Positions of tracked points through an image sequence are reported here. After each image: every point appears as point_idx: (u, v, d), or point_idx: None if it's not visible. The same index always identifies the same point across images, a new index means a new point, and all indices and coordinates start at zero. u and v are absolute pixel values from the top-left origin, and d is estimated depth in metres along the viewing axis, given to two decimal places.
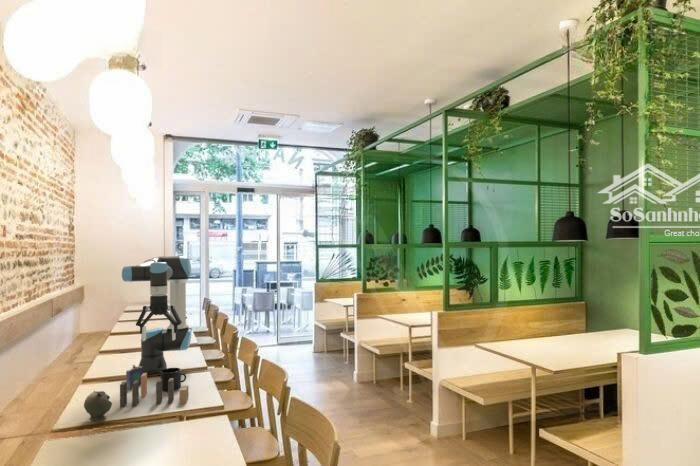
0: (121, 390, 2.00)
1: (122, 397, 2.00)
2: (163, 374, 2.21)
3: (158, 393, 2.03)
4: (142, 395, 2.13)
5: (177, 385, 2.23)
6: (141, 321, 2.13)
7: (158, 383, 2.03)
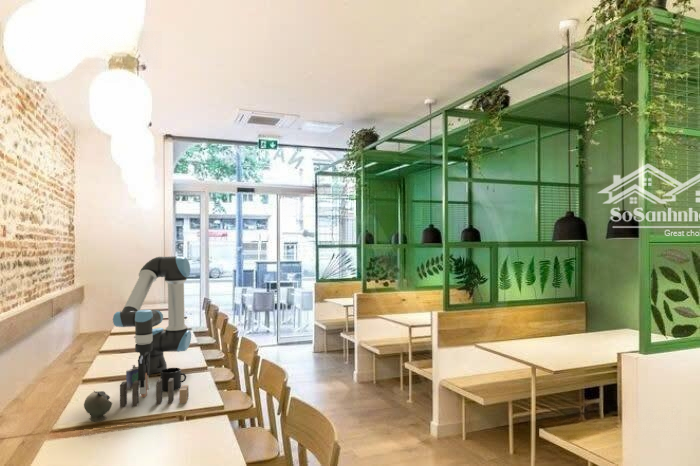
0: (121, 390, 2.00)
1: (122, 397, 2.00)
2: (163, 374, 2.21)
3: (158, 393, 2.03)
4: (142, 395, 2.13)
5: (177, 385, 2.23)
6: (148, 369, 2.20)
7: (158, 383, 2.03)
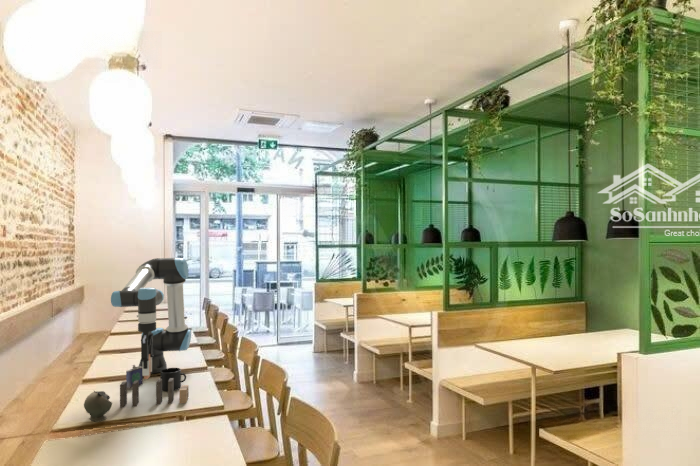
0: (121, 390, 2.00)
1: (122, 397, 2.00)
2: (163, 374, 2.21)
3: (158, 393, 2.03)
4: (145, 377, 2.02)
5: (177, 385, 2.23)
6: (151, 350, 2.10)
7: (158, 383, 2.03)
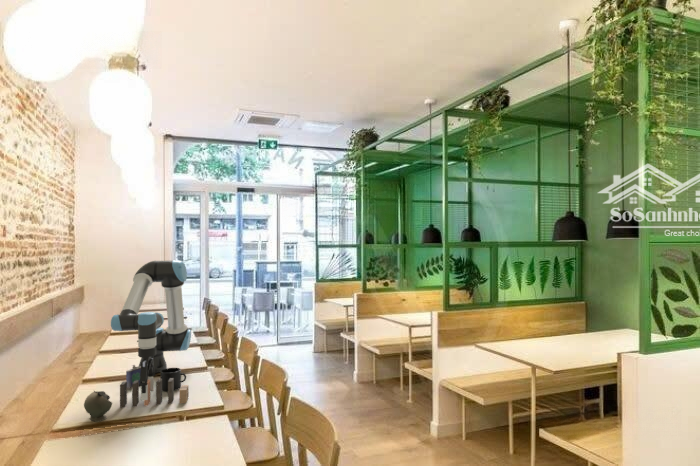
0: (121, 390, 2.00)
1: (122, 397, 2.00)
2: (163, 374, 2.21)
3: (158, 393, 2.03)
4: (145, 403, 2.02)
5: (177, 385, 2.23)
6: (153, 370, 2.12)
7: (158, 383, 2.03)
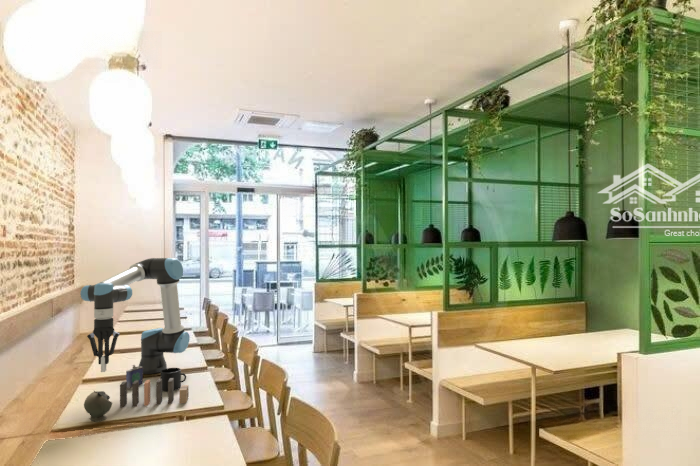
0: (121, 390, 2.00)
1: (122, 397, 2.00)
2: (163, 374, 2.21)
3: (158, 393, 2.03)
4: (145, 403, 2.02)
5: (177, 385, 2.23)
6: (97, 350, 2.01)
7: (158, 383, 2.03)
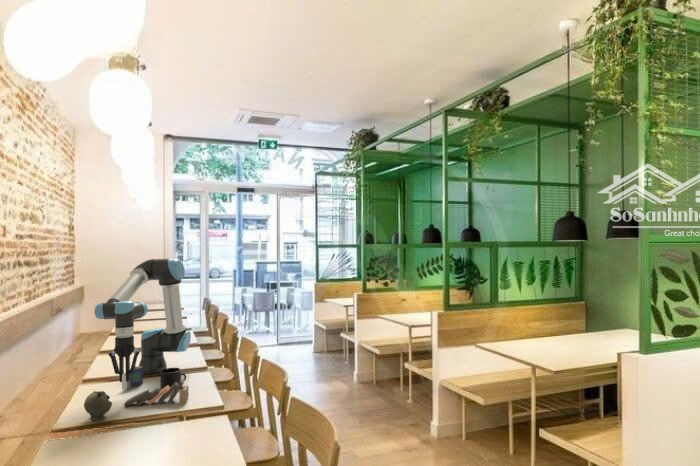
0: (141, 397, 2.01)
1: (134, 401, 2.01)
2: (163, 374, 2.21)
3: (167, 394, 2.04)
4: (149, 402, 2.02)
5: None
6: None
7: (174, 387, 2.05)
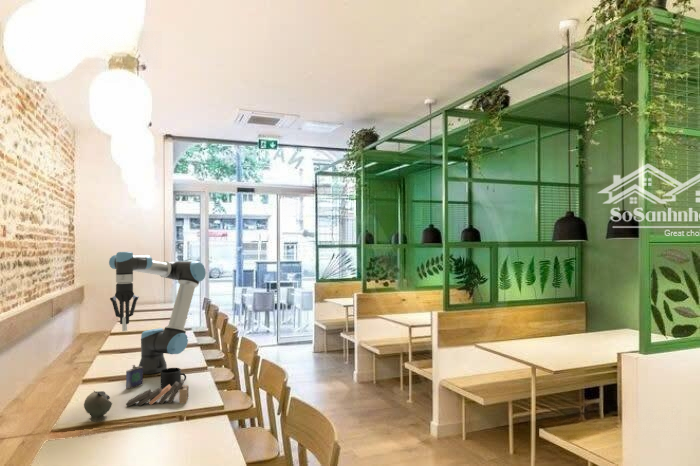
0: (143, 396, 2.02)
1: (136, 400, 2.01)
2: (163, 374, 2.21)
3: (168, 394, 2.04)
4: (151, 402, 2.02)
5: None
6: (118, 311, 2.24)
7: (175, 386, 2.05)
